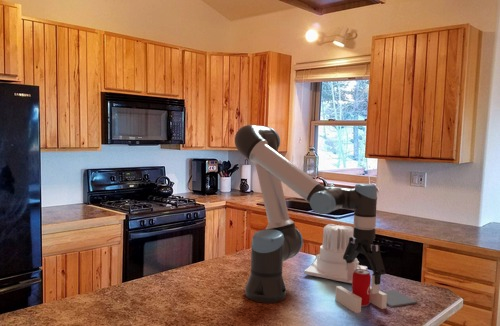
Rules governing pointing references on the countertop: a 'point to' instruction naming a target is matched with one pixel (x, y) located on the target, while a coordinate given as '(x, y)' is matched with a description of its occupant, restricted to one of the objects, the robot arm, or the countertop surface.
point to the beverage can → (361, 285)
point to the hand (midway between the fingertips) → (362, 286)
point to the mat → (397, 299)
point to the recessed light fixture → (333, 254)
